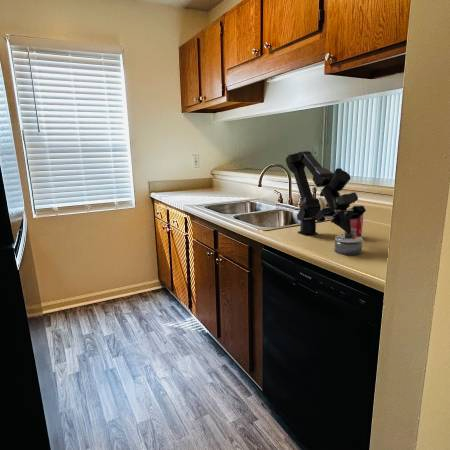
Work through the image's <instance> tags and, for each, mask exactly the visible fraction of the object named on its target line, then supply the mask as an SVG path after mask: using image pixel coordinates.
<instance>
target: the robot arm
mask: <svg viewBox="0 0 450 450" xmlns="http://www.w3.org/2000/svg"><path fill="white" fill-rule="evenodd" d="M285 163H286V166H287V168H288V170H289V171H290V172H291V173H293V176H294V179H295V182H296V185H297V189H298V193H299V196H300V199H301V202H300V206H299V209H300V210H299V211H298V213H297V214H296V218H297V220H296V221H300V227H299V228H300V230H298V231H297V233H298V234H300V235H304V236H312V235H318V233H319V232H316V229H317V224H316V222H317V223H321V222H325V221H326V218H327V217H328V218H331V220H330V223H333V224H334V225H336V226H337V227H339V228H340V229H341V230H343V231H344V232H345V231H346V232H347V233H350V232H351V222H350V221H351V219H358V218H360V217H361V215H362V214H363V215H364V213H366V212H367V210H366V208H365V206H364V205H353V206H352V209H351V210H348V209H349V208H351V204H354V203H356V202H357V201H358V200H359V198H358V194H357V193H356V192H350V193H344V194H340V192H341V191H343V189H344V188H345V187H346V186H347V184H348V183H349V182H350V180H351V175H350V173H348V172H347V171H345V170H343V169H342V167H341V168H336V169H335V170H334V172H332V171H331V170H330V169H327V168H325V167H323V166H322V165H321V164H320V163H319V162H318V161H317V158H315V157H314V156H313V153H312V151H309V150H303V151H302V150H301V151H299V152H297V153H290V154H288V156H286V158H285ZM305 168H306V169H308V171H309V173H310V174H311V176H312V181H313V183H314V185H315V186H316V187H318V188H319V187H323V188H322V189H320V193H319V196H320V197H324V199H325V202H326V204H325V207H322V205H321V204H320V199H319V198H315V197H314V196H313V194H312V191H311V188H310V183H309V180H308V178H307V174H306V170H305Z"/></svg>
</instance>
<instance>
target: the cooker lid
mask: <svg viewBox="0 0 450 450" xmlns="http://www.w3.org/2000/svg"><path fill="white" fill-rule="evenodd" d="M335 240H336V241H338V242H344V243H359V242H362V243H363V241H364V238H363V237H362V236H355V235H353V233H345V232H344V234H340V235H336V236H335V237H334V241H335Z"/></svg>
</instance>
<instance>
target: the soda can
mask: <svg viewBox="0 0 450 450" xmlns="http://www.w3.org/2000/svg"><path fill="white" fill-rule="evenodd" d="M352 208H353V207H352ZM352 208H351V207H349V208H347V210H351V209H352ZM350 222H351V232H350V233H353V235H355V236H360V237H362V233H363V227H364V226H363V225H364V213H363V214H362V215H361V217H360V218H358V219H351V221H350ZM345 233H347V232H346V231H344V234H345Z"/></svg>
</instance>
